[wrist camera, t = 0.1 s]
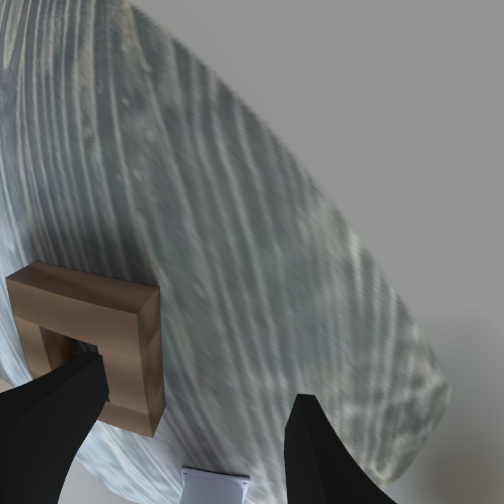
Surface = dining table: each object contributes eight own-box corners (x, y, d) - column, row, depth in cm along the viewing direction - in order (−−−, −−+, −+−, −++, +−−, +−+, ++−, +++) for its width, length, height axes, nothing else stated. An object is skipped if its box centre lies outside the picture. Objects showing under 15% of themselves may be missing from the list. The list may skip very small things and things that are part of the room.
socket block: (165, 405, 23) (152, 437, 19) (59, 371, 23) (39, 394, 19) (159, 286, 19) (136, 314, 15) (36, 261, 20) (5, 277, 16)
